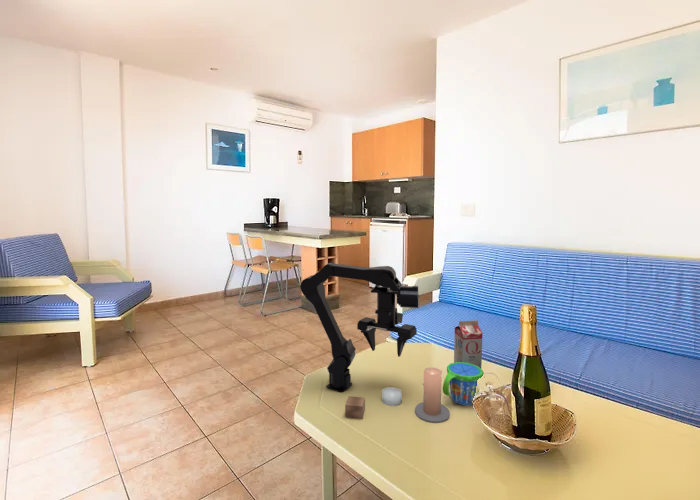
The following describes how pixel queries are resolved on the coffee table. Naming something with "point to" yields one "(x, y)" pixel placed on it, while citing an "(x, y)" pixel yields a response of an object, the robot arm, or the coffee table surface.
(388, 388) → the white dome
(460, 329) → the juice carton
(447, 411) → the coaster
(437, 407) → the pink rounded cylinder
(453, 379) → the snack cup
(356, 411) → the walnut block
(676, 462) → the coffee table surface
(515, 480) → the coffee table surface
